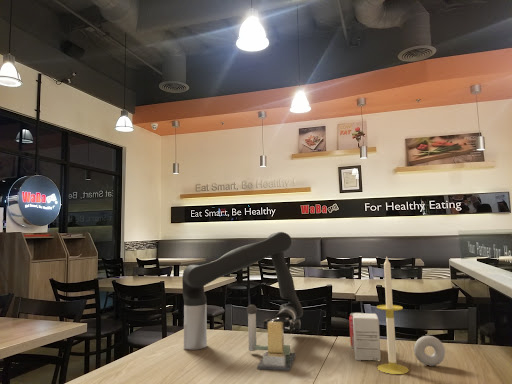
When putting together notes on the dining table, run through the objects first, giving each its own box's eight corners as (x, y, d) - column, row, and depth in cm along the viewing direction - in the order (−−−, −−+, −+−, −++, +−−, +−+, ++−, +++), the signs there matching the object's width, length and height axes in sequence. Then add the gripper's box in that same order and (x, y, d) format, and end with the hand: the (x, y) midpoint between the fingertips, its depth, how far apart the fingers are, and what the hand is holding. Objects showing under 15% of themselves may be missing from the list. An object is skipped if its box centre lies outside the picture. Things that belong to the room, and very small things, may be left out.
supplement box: (354, 352, 149) (352, 312, 151) (378, 354, 147) (376, 313, 149) (355, 360, 140) (353, 317, 142) (381, 361, 139) (378, 318, 140)
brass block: (270, 358, 141) (269, 321, 143) (284, 359, 140) (283, 321, 142) (268, 362, 137) (267, 324, 139) (282, 362, 136) (281, 324, 138)
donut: (416, 367, 132) (414, 336, 134) (413, 363, 136) (412, 334, 137) (447, 368, 131) (445, 337, 132) (444, 364, 134) (442, 334, 135)
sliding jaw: (248, 348, 153) (248, 303, 155) (291, 350, 150) (290, 304, 151) (245, 353, 148) (244, 306, 150) (289, 355, 144) (288, 307, 146)
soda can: (369, 350, 152) (368, 316, 153) (350, 349, 153) (349, 315, 155) (368, 345, 159) (366, 312, 160) (350, 344, 160) (348, 312, 162)
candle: (394, 363, 137) (388, 254, 141) (415, 372, 128) (408, 255, 132) (370, 367, 133) (365, 255, 137) (390, 376, 124) (384, 257, 128)
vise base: (266, 354, 150) (266, 343, 150) (295, 355, 147) (295, 344, 148) (257, 369, 133) (257, 356, 134) (289, 371, 131) (289, 357, 132)
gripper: (268, 309, 165) (260, 317, 149) (302, 309, 162) (297, 318, 146) (269, 327, 164) (260, 337, 148) (303, 328, 161) (298, 339, 145)
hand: (279, 328), depth 147 cm, fingers open, 8 cm apart
